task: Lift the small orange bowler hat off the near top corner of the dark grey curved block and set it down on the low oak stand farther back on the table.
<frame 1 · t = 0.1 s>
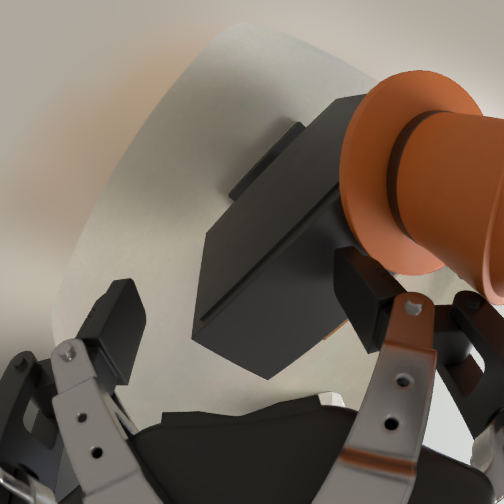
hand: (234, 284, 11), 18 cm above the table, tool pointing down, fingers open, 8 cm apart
vase: (320, 403, 46), on the table
hat: (430, 175, 10), point 18 cm above the table, touching hand, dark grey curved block
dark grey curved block: (280, 173, 27), on the table
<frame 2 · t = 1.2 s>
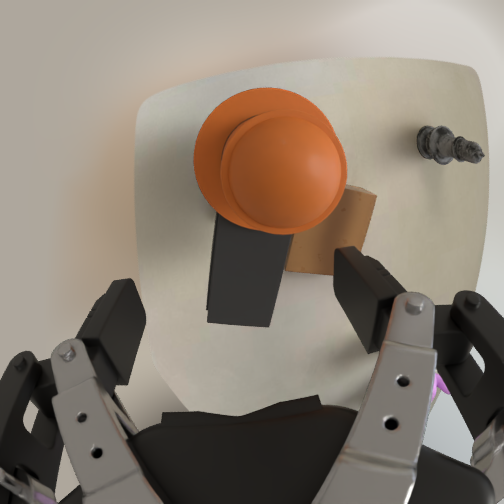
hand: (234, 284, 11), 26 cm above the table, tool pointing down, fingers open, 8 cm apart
salt shaker: (428, 142, 34), on the table
hat: (268, 159, 16), point 18 cm above the table, touching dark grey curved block
stand: (322, 222, 38), on the table
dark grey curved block: (241, 180, 35), on the table
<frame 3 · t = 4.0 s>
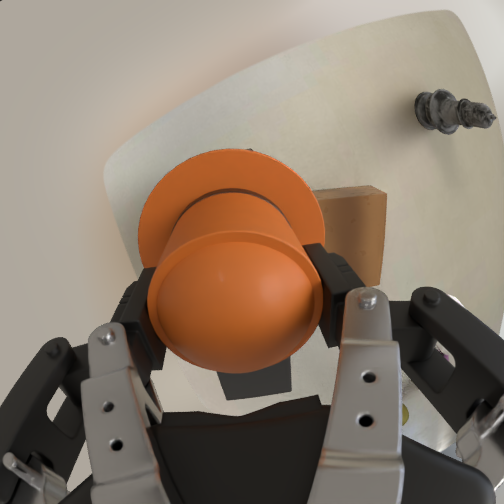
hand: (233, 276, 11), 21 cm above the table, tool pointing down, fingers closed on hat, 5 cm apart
salt shaker: (428, 110, 27), on the table
apple: (387, 404, 56), on the table
hat: (231, 242, 14), point 18 cm above the table, touching gripper, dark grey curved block
stand: (335, 235, 34), on the table
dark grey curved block: (234, 217, 32), on the table
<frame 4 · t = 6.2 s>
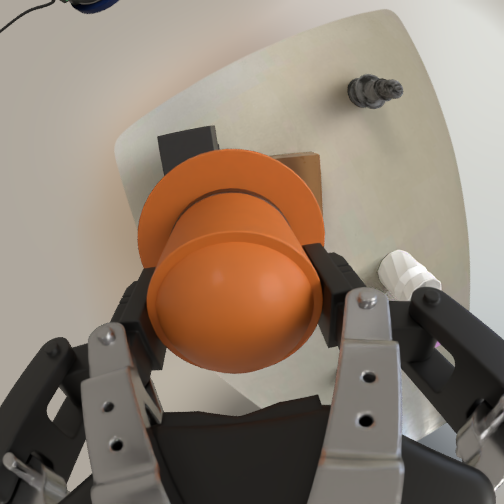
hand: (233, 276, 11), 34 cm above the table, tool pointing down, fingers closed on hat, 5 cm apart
salt shaker: (361, 92, 38), on the table
vase: (394, 266, 54), on the table
hat: (231, 243, 14), point 32 cm above the table, touching gripper
stand: (285, 190, 45), on the table
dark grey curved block: (207, 177, 43), on the table
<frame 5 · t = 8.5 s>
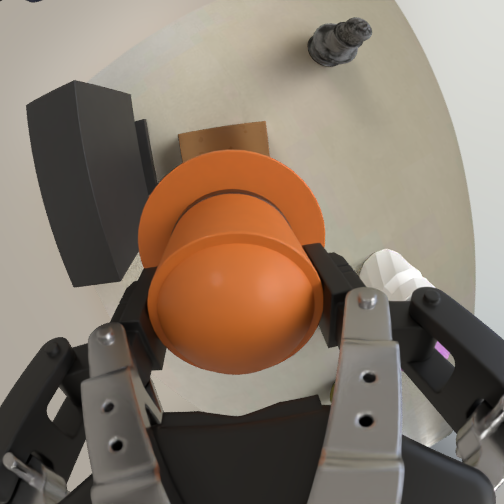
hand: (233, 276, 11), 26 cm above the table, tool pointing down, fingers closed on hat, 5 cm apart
salt shaker: (326, 49, 29), on the table
vase: (380, 270, 44), on the table
hat: (231, 243, 14), point 24 cm above the table, touching gripper
stand: (228, 171, 35), on the table
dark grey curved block: (134, 159, 33), on the table
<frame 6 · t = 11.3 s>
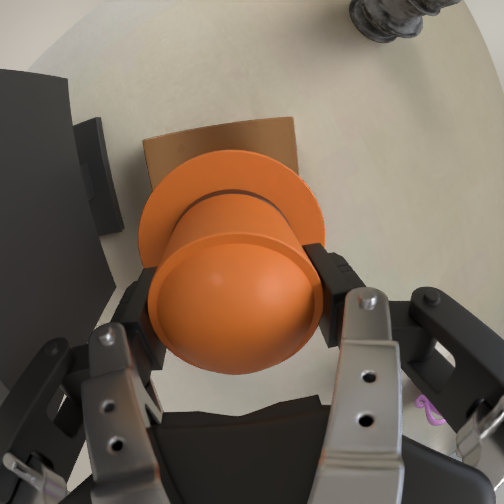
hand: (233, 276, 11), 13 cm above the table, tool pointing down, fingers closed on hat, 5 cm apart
salt shaker: (374, 18, 16), on the table
hat: (231, 243, 14), point 10 cm above the table, touching gripper
stand: (228, 197, 23), on the table
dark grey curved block: (87, 179, 20), on the table
teapot: (449, 363, 39), on the table
when the fingers open (7 cm above the table, at t = 13.3 s): hat stays where it is, resting on stand.
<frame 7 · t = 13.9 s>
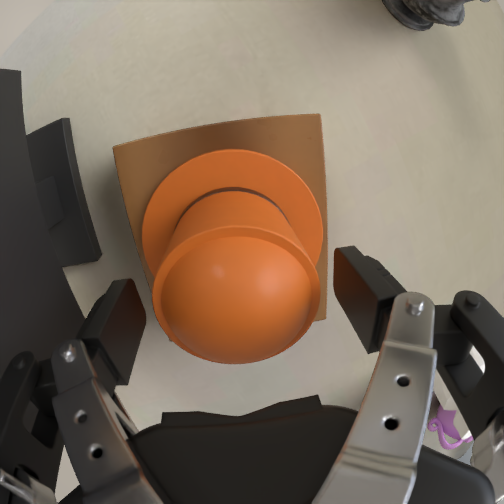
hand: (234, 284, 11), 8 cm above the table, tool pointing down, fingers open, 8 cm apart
salt shaker: (406, 2, 11), on the table
vase: (444, 344, 27), on the table
hat: (232, 239, 14), point 4 cm above the table, touching stand
stand: (230, 219, 18), on the table
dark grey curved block: (56, 196, 16), on the table
teapot: (464, 382, 34), on the table
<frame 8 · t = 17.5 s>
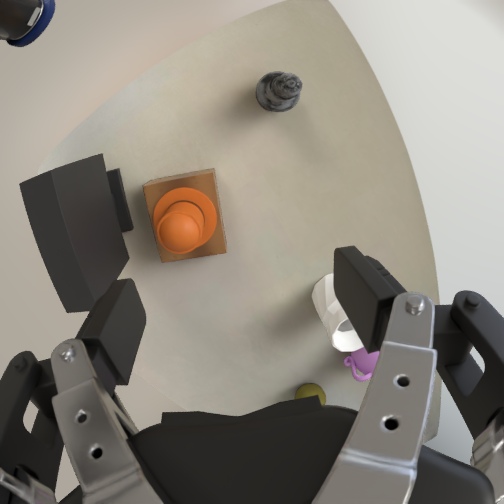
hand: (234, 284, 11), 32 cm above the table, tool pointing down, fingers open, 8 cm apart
salt shaker: (273, 94, 36), on the table
vase: (333, 290, 51), on the table
apple: (306, 386, 64), on the table
hat: (184, 218, 38), point 4 cm above the table, touching stand
stand: (188, 211, 42), on the table
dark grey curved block: (112, 201, 40), on the table
teapot: (377, 333, 58), on the table
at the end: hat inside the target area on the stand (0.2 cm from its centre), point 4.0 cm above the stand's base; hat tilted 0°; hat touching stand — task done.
